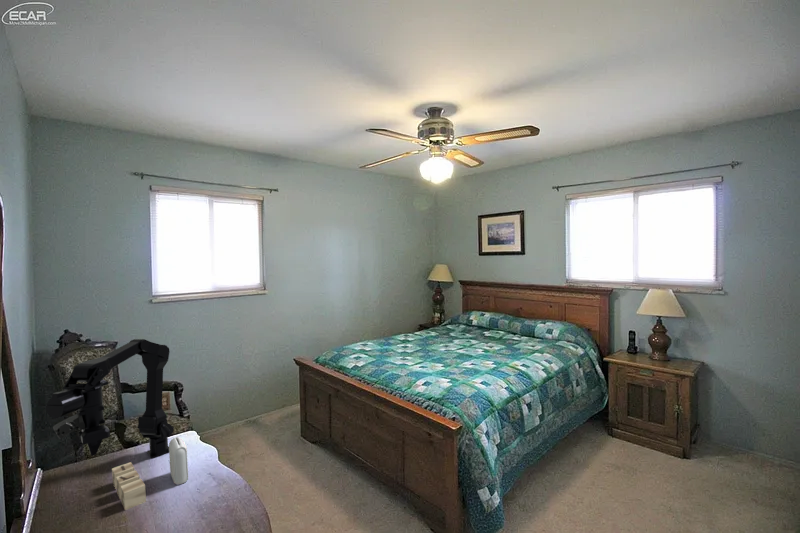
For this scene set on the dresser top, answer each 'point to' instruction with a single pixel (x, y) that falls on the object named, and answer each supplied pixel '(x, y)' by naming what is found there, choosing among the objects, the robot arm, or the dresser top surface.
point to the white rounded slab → (178, 460)
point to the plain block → (133, 494)
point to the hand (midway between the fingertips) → (93, 455)
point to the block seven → (126, 480)
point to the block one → (121, 471)
